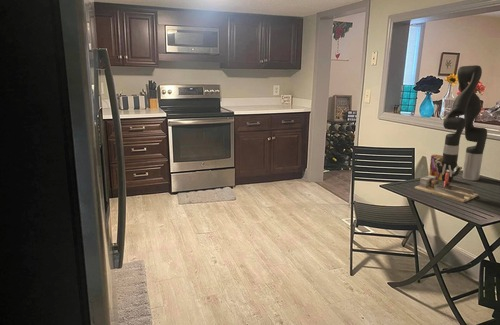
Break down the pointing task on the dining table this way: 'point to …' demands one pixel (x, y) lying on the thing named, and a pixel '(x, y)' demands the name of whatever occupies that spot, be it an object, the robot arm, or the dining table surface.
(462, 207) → the dining table surface
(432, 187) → the nut
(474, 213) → the dining table surface
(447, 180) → the plate with copper rod
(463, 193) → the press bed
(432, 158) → the candy box
